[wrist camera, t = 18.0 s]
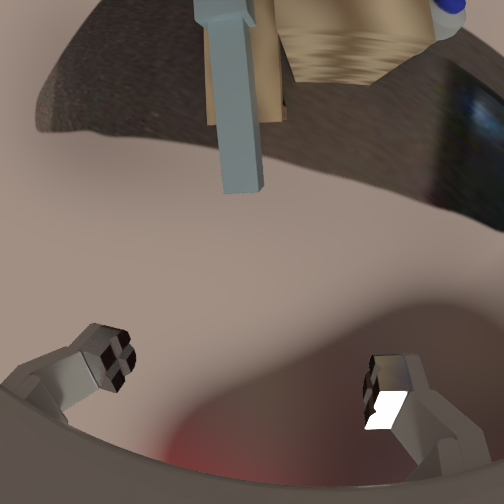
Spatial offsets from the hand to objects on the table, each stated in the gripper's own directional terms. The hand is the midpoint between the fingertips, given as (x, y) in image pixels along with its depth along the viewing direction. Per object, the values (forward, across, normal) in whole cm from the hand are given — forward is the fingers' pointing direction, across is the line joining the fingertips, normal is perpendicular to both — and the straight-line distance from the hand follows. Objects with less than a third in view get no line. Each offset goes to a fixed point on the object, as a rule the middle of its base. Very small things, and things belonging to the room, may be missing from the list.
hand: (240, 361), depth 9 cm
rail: (+25, +5, -12) cm, 28 cm away
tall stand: (+39, -5, -21) cm, 45 cm away
